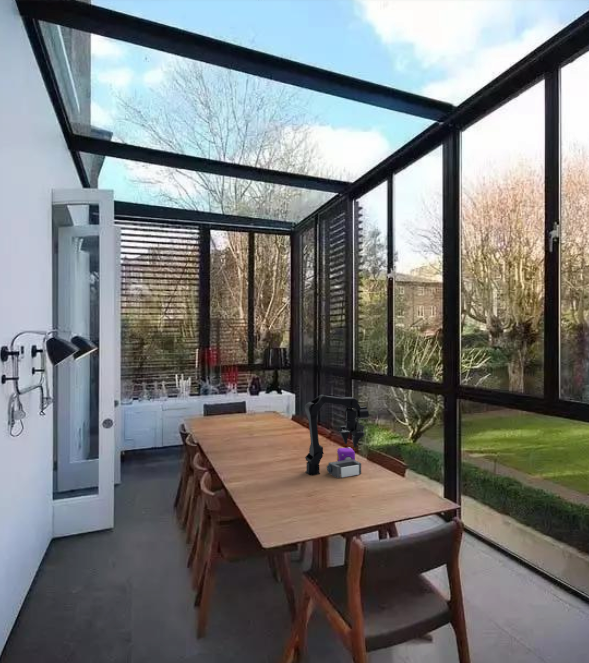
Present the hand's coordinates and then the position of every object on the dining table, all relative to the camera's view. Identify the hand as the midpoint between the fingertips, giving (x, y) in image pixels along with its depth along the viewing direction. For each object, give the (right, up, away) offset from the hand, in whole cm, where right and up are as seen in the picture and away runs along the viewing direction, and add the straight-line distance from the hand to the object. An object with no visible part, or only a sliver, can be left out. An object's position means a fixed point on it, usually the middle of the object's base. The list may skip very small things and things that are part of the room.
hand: (350, 445), depth 248 cm
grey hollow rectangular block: (-4, -13, -9) cm, 16 cm away
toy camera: (-1, -14, +6) cm, 15 cm away
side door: (-2, -13, -13) cm, 19 cm away
